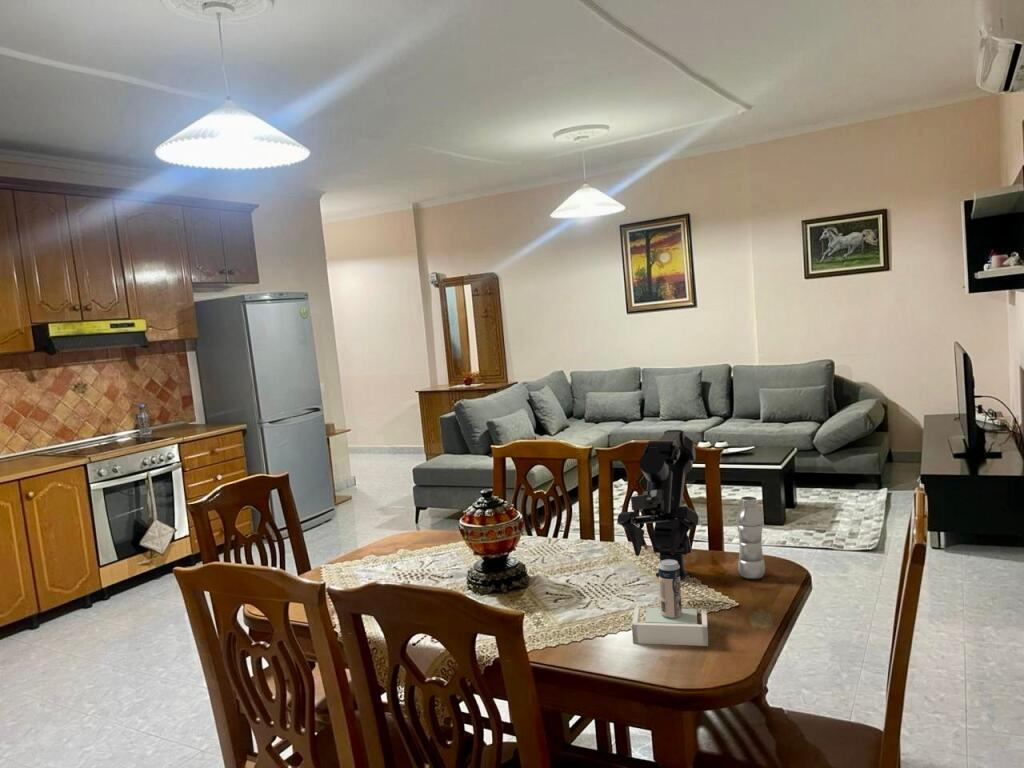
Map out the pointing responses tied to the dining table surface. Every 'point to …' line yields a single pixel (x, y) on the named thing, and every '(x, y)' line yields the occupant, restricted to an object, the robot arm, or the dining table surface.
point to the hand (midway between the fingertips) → (654, 554)
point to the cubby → (669, 632)
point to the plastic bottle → (750, 539)
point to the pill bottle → (669, 588)
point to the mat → (686, 618)
